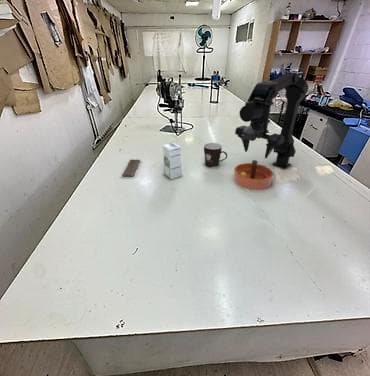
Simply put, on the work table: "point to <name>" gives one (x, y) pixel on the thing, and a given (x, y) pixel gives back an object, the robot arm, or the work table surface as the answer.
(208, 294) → the work table surface
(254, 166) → the stick
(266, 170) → the bowl
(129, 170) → the wooden plank
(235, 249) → the work table surface
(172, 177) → the syrup box
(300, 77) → the robot arm
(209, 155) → the coffee mug
